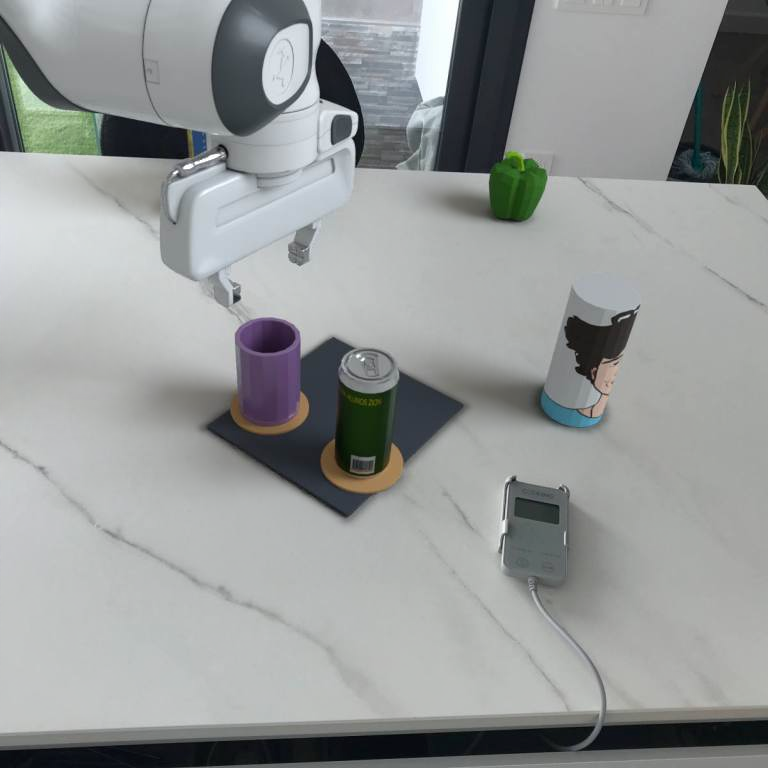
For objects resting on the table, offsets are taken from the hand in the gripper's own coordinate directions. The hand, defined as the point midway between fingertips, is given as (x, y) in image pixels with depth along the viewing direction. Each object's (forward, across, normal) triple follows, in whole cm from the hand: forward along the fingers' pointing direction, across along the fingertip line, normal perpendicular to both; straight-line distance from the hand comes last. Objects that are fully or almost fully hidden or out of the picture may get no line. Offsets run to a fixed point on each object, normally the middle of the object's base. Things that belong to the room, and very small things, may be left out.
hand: (265, 280), depth 70 cm
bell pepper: (+15, +57, +3) cm, 60 cm away
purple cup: (+15, 0, 0) cm, 15 cm away
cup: (+16, +22, -24) cm, 36 cm away
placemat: (+16, +4, -6) cm, 18 cm away
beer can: (+16, 0, -12) cm, 20 cm away
